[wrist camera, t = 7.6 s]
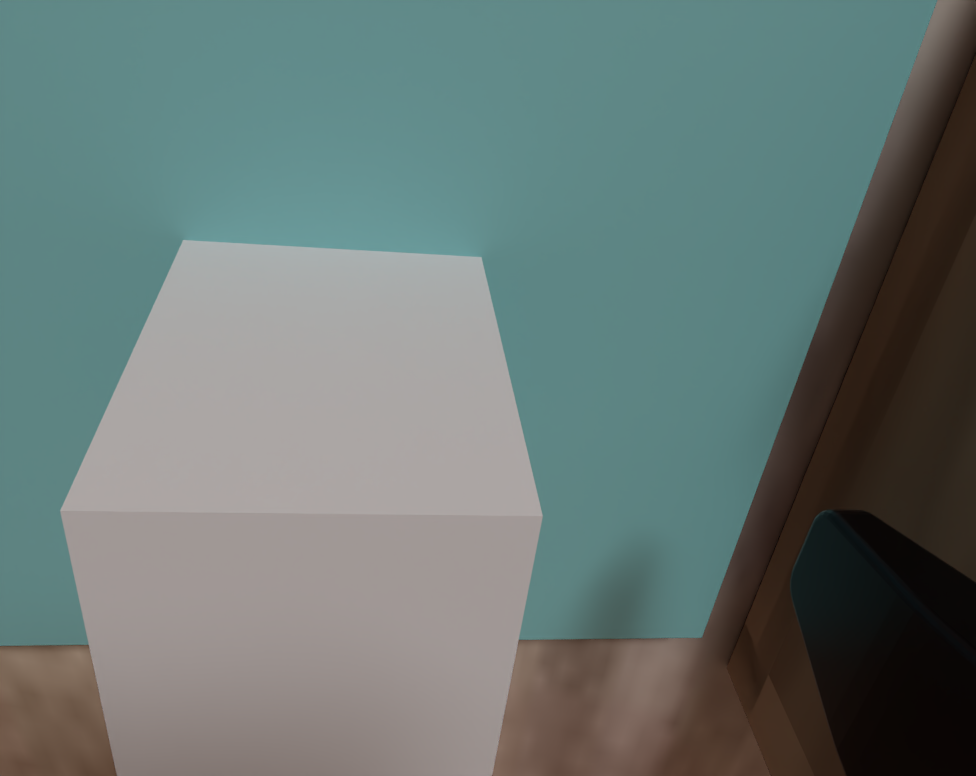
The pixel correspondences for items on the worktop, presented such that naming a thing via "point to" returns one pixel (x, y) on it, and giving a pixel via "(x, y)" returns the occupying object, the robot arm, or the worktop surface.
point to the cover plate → (470, 149)
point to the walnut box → (883, 446)
